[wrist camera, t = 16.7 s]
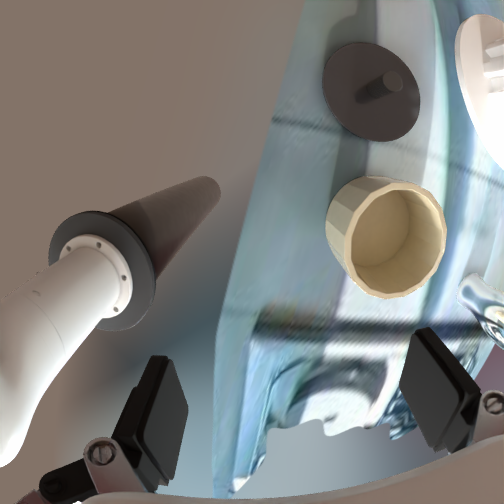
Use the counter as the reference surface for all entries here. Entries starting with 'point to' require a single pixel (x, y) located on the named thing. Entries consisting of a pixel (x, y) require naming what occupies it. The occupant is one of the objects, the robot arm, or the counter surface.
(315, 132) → the counter surface
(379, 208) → the faceted cream dish
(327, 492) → the robot arm
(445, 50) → the counter surface
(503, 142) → the ribbed cylinder on disc
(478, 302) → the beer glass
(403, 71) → the lid
